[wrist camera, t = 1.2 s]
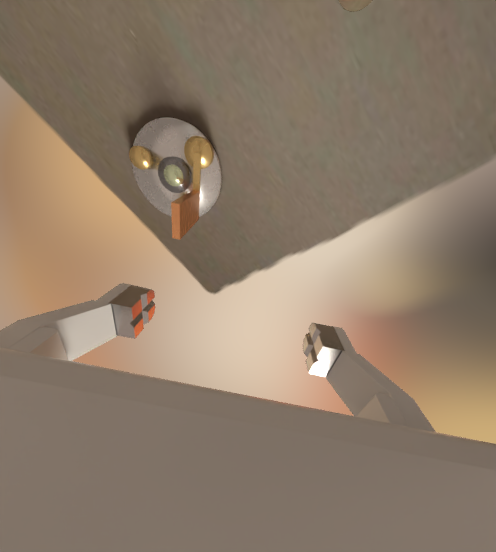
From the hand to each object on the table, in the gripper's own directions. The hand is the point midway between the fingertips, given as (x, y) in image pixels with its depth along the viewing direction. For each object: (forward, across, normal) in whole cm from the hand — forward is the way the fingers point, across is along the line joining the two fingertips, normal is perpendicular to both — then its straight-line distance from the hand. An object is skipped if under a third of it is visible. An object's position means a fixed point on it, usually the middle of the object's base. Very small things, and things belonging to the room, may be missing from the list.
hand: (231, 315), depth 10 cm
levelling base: (+34, +16, -4) cm, 38 cm away
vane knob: (+32, +12, -4) cm, 34 cm away
